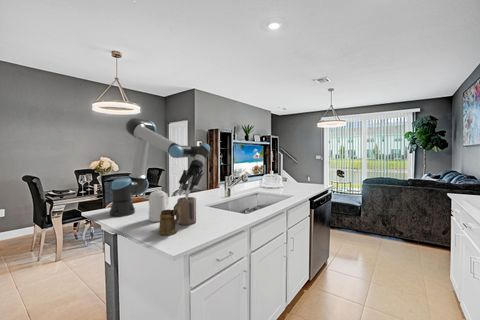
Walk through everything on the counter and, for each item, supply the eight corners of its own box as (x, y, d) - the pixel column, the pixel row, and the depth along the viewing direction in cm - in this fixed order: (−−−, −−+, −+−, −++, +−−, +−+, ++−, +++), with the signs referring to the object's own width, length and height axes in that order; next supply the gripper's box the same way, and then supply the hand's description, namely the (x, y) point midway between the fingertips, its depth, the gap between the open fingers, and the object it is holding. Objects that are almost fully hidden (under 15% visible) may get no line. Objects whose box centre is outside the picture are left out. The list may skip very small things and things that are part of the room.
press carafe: (175, 222, 136) (174, 198, 135) (191, 219, 142) (190, 196, 141) (184, 227, 126) (184, 201, 126) (201, 223, 133) (200, 199, 132)
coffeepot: (136, 225, 130) (135, 192, 129) (160, 213, 155) (159, 185, 154) (154, 227, 128) (153, 193, 127) (175, 214, 152) (175, 186, 152)
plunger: (179, 215, 135) (179, 184, 135) (189, 213, 139) (188, 183, 138) (184, 217, 131) (183, 185, 130) (194, 215, 134) (193, 184, 134)
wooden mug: (178, 237, 112) (177, 200, 111) (154, 235, 116) (153, 199, 115) (187, 231, 120) (187, 196, 119) (165, 229, 124) (164, 195, 123)
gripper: (183, 159, 146) (166, 189, 131) (207, 159, 140) (193, 191, 125) (188, 167, 151) (172, 197, 136) (212, 167, 145) (198, 199, 130)
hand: (182, 194), depth 131 cm, fingers closed on plunger, 4 cm apart
